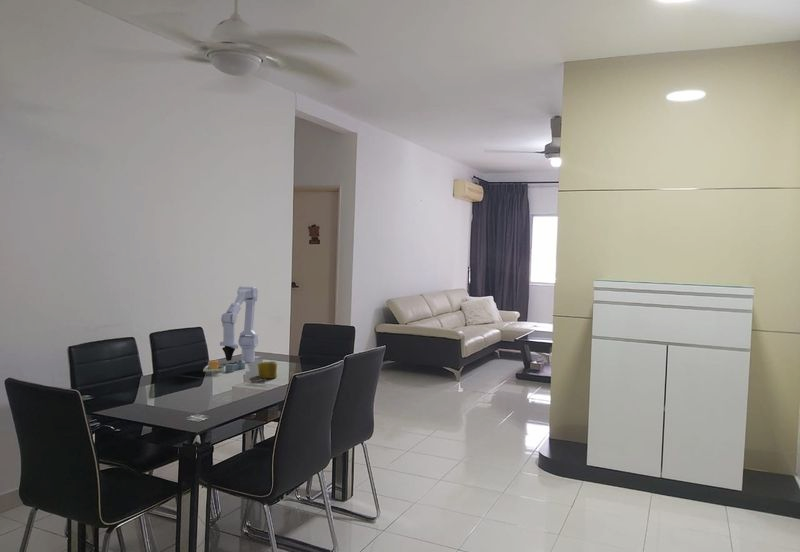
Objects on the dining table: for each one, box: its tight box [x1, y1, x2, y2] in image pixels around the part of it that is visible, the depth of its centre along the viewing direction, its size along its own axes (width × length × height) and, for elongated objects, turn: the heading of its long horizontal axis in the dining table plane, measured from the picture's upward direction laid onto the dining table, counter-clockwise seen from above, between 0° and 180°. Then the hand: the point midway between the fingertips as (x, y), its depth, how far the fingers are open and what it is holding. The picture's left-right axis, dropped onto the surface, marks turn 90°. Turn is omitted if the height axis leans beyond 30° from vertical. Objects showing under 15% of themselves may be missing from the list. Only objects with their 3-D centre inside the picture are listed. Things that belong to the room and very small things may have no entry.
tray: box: [202, 364, 225, 372], centre depth 320 cm, size 11×11×2 cm
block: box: [209, 359, 220, 369], centre depth 319 cm, size 4×4×5 cm
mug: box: [257, 361, 278, 380], centre depth 306 cm, size 12×10×10 cm
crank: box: [224, 359, 246, 373], centre depth 319 cm, size 12×5×4 cm, turn 158°
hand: (228, 360), depth 320 cm, fingers closed
